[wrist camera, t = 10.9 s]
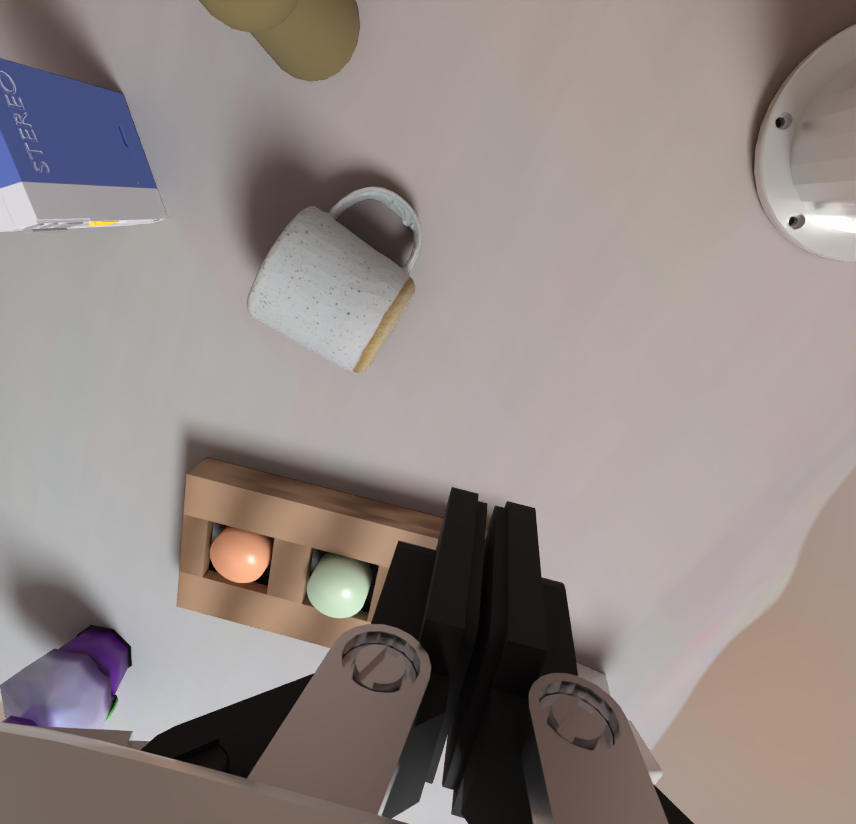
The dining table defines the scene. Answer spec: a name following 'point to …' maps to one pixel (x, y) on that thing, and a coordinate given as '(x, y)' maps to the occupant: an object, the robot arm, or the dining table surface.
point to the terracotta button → (241, 554)
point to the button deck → (286, 546)
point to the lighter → (647, 756)
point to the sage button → (339, 585)
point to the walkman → (69, 156)
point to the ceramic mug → (335, 283)
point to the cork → (296, 31)
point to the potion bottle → (70, 683)
